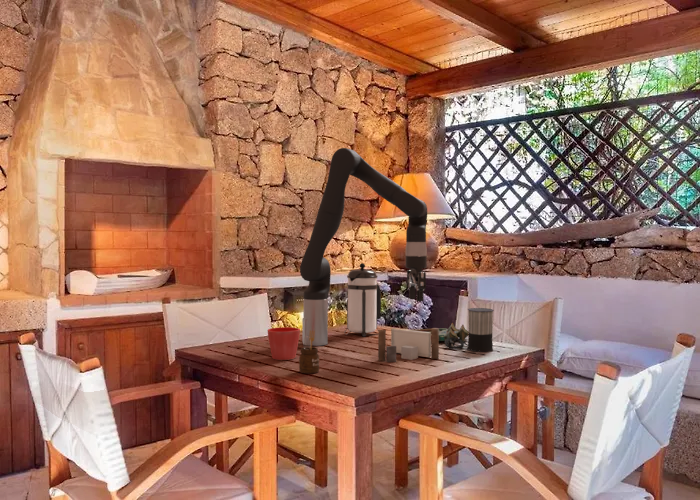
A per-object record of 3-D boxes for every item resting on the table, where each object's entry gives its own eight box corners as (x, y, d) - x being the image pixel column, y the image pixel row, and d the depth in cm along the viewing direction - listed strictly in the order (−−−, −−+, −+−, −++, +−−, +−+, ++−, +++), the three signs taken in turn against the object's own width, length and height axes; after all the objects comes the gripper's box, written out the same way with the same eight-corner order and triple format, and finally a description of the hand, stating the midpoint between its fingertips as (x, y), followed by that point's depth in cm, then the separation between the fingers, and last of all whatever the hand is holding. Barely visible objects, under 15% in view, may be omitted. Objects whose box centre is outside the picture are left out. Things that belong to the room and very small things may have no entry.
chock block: (411, 360, 201) (411, 348, 201) (401, 358, 203) (401, 346, 203) (417, 358, 204) (417, 346, 204) (407, 356, 207) (407, 345, 206)
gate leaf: (430, 356, 205) (431, 332, 205) (428, 357, 204) (428, 333, 204) (393, 351, 214) (393, 328, 214) (391, 352, 213) (391, 329, 213)
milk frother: (498, 351, 217) (498, 310, 217) (458, 353, 212) (459, 311, 212) (478, 345, 230) (478, 306, 230) (440, 347, 226) (440, 307, 225)
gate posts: (380, 362, 196) (380, 331, 196) (377, 359, 200) (377, 329, 200) (441, 359, 201) (441, 329, 201) (437, 357, 205) (437, 327, 205)
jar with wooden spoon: (296, 373, 179) (296, 333, 179) (303, 369, 186) (303, 329, 185) (315, 374, 178) (315, 333, 178) (321, 370, 184) (321, 330, 184)
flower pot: (263, 356, 206) (263, 327, 206) (294, 354, 210) (294, 326, 210) (272, 362, 196) (272, 332, 196) (304, 359, 200) (304, 330, 200)
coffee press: (383, 337, 248) (383, 263, 248) (344, 337, 248) (344, 263, 247) (380, 330, 265) (380, 262, 265) (344, 330, 265) (344, 262, 265)
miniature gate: (398, 325, 261) (469, 322, 255) (399, 337, 261) (470, 335, 255) (390, 334, 234) (469, 331, 228) (391, 348, 234) (470, 345, 228)
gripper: (400, 254, 223) (400, 298, 223) (412, 255, 209) (412, 302, 209) (419, 254, 224) (419, 298, 225) (433, 255, 210) (432, 301, 211)
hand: (416, 300), depth 217 cm, fingers open, 8 cm apart
